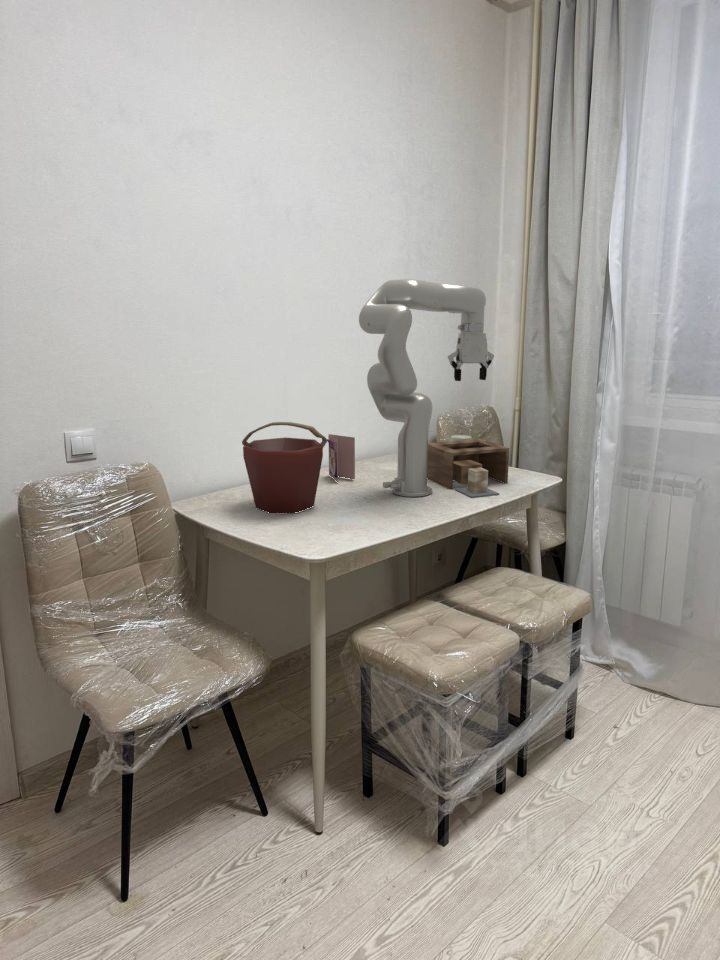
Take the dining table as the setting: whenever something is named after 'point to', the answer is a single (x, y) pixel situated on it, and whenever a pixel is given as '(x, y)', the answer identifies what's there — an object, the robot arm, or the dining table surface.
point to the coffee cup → (460, 437)
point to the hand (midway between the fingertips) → (470, 380)
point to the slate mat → (474, 495)
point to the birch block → (477, 480)
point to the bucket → (284, 470)
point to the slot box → (466, 460)
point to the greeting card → (341, 456)
